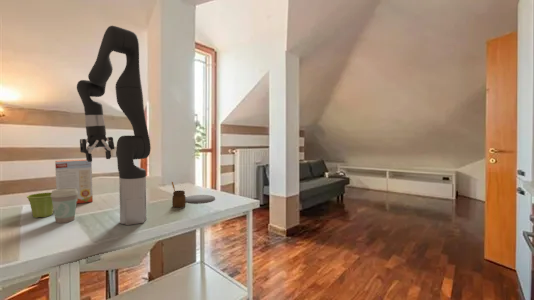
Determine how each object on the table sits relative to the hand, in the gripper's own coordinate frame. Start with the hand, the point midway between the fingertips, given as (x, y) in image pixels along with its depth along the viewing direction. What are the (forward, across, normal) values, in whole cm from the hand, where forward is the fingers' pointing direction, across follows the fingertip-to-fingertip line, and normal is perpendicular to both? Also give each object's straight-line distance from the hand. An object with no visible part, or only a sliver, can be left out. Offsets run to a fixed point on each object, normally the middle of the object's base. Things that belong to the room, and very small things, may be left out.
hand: (99, 160), depth 123 cm
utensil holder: (+24, +15, -31) cm, 42 cm away
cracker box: (+21, -4, +16) cm, 27 cm away
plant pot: (+20, -22, +6) cm, 30 cm away
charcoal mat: (+25, +30, -31) cm, 50 cm away
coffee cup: (+20, -21, -8) cm, 31 cm away
